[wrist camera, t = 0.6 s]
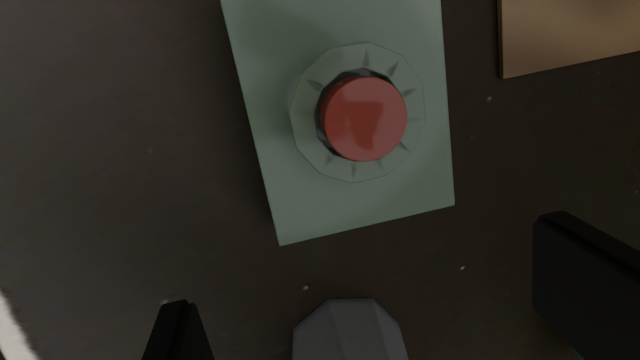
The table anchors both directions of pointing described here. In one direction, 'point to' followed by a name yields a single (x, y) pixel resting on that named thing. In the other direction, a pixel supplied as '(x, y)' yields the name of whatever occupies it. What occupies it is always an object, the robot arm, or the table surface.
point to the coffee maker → (348, 333)
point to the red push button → (363, 117)
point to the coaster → (563, 33)
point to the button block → (307, 95)
